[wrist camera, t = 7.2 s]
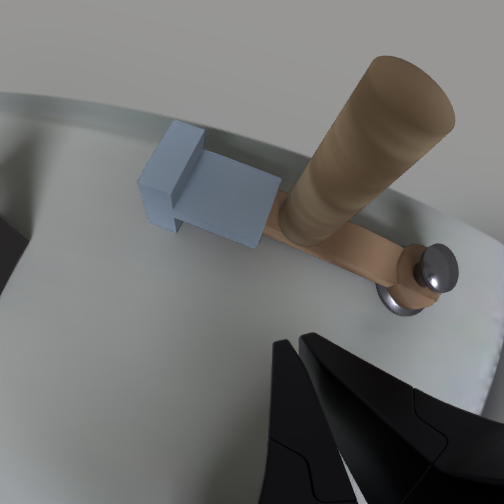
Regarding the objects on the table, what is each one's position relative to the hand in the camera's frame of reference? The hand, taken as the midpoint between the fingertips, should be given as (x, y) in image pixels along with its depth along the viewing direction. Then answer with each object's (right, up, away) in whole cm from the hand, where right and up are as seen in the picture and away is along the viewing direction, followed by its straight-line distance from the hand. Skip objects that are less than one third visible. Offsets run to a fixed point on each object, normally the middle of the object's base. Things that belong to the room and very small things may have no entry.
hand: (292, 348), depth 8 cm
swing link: (+5, +3, +14) cm, 15 cm away
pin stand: (+11, 0, +15) cm, 19 cm away
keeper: (-4, +6, +14) cm, 16 cm away
